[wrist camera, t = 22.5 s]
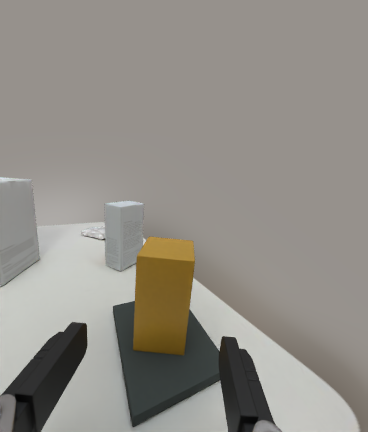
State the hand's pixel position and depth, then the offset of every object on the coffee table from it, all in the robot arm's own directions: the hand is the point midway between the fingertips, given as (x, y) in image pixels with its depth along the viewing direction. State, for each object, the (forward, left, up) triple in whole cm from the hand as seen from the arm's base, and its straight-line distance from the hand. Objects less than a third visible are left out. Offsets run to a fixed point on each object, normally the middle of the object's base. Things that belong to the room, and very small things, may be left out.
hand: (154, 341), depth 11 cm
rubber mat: (+7, -4, -8) cm, 12 cm away
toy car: (+43, +1, -9) cm, 44 cm away
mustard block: (+7, -4, -7) cm, 11 cm away
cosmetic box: (+26, -3, -9) cm, 28 cm away
